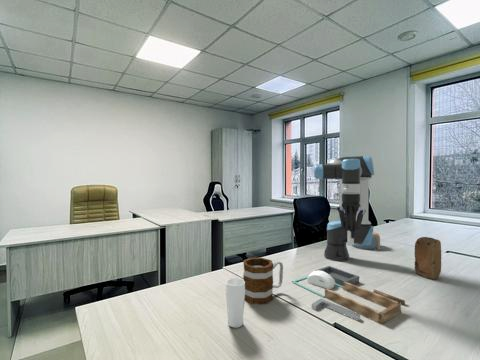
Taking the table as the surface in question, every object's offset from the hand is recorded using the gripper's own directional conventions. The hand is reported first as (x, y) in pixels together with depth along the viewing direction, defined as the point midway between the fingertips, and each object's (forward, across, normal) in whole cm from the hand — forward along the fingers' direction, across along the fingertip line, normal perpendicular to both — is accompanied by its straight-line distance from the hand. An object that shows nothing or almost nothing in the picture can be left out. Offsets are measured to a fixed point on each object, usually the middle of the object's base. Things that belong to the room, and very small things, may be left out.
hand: (350, 244), depth 114 cm
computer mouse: (+22, -12, -6) cm, 25 cm away
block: (+22, +12, +49) cm, 55 cm away
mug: (+21, -18, -36) cm, 45 cm away
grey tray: (+21, -11, +6) cm, 25 cm away
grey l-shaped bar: (+21, +8, -23) cm, 32 cm away
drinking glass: (+20, -7, -58) cm, 62 cm away
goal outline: (+21, -11, -8) cm, 25 cm away
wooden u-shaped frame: (+21, +10, -8) cm, 24 cm away
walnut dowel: (+21, +14, +6) cm, 25 cm away
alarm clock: (+24, -37, +76) cm, 88 cm away
